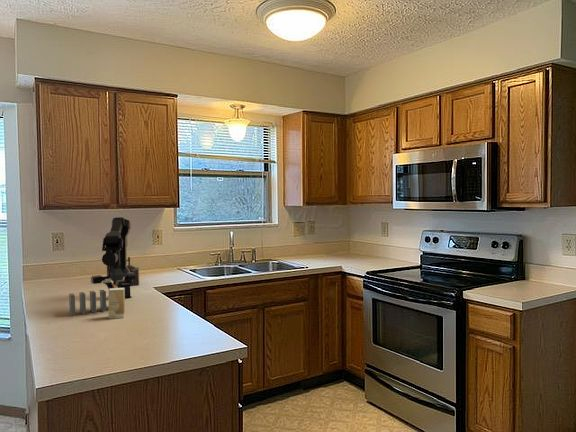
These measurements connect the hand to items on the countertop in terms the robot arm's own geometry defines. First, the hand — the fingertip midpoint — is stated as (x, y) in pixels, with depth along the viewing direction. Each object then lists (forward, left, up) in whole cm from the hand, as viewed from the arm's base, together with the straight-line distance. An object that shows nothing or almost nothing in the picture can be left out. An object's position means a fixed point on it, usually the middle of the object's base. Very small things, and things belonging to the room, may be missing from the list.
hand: (114, 296), depth 204 cm
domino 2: (+14, 0, -6) cm, 15 cm away
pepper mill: (-19, -58, -6) cm, 61 cm away
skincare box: (+3, +16, -6) cm, 17 cm away
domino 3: (+9, 0, -6) cm, 11 cm away
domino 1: (+18, 0, -6) cm, 19 cm away
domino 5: (0, +1, -4) cm, 4 cm away
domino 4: (+5, 0, -6) cm, 8 cm away
